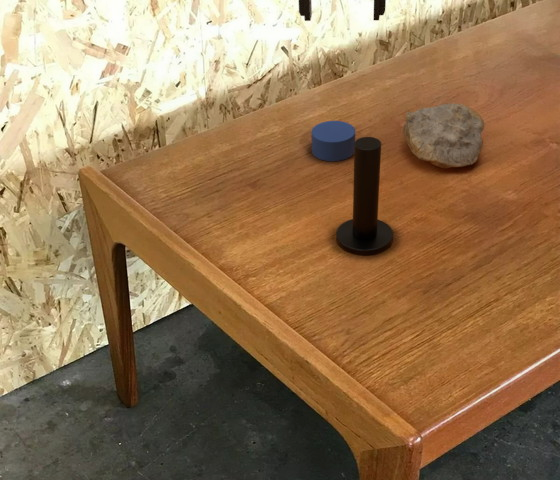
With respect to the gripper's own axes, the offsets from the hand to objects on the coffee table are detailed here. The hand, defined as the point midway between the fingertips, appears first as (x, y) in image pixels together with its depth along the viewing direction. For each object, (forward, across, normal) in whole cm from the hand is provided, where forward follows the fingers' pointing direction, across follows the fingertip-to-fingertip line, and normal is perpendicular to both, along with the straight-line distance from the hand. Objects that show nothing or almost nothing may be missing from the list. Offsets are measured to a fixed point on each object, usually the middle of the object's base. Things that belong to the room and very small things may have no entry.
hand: (342, 18), depth 99 cm
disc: (+19, -2, +2) cm, 19 cm away
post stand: (+19, +4, -19) cm, 28 cm away
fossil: (+20, +14, +2) cm, 24 cm away
